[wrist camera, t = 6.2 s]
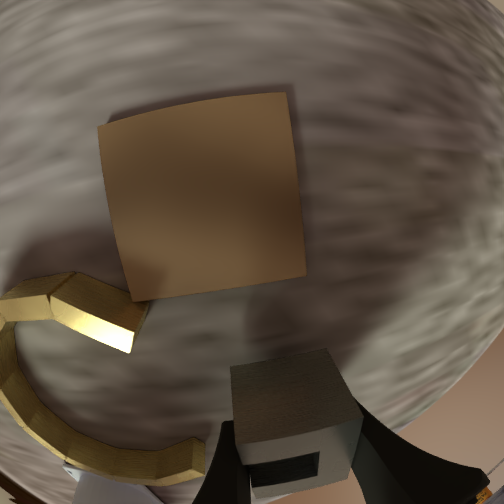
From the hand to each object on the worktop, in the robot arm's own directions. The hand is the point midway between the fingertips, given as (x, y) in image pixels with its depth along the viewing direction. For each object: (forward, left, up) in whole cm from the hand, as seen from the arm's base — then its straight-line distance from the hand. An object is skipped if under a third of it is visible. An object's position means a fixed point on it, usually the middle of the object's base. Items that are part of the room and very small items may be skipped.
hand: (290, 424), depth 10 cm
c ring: (0, +12, -3) cm, 13 cm away
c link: (0, 0, -2) cm, 2 cm away
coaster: (+9, +2, -3) cm, 10 cm away
